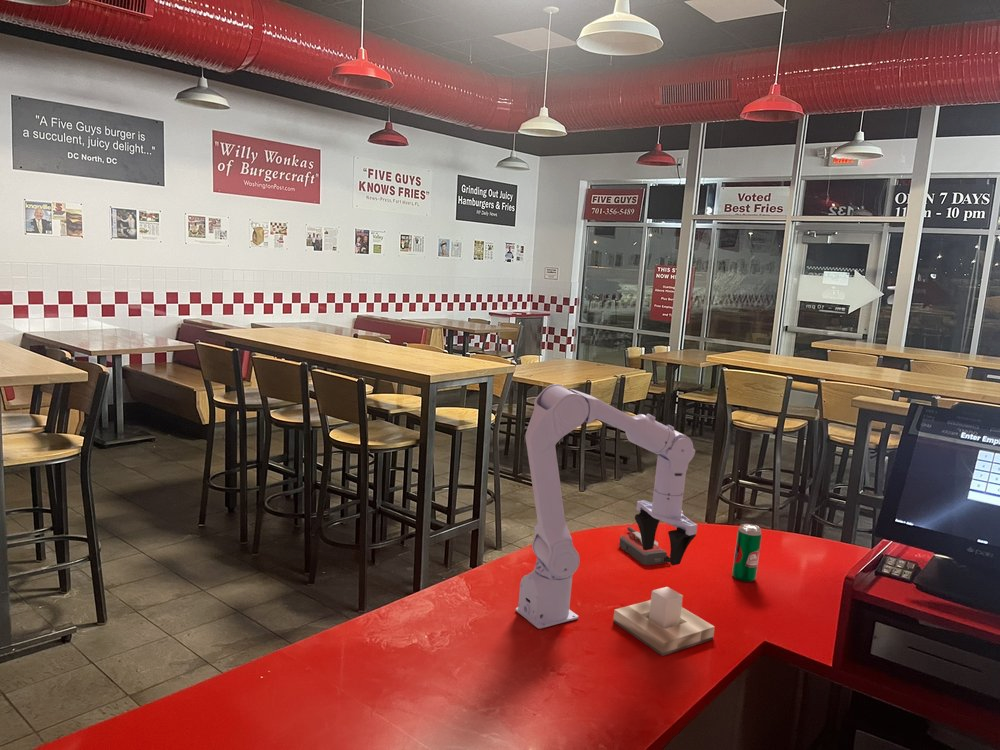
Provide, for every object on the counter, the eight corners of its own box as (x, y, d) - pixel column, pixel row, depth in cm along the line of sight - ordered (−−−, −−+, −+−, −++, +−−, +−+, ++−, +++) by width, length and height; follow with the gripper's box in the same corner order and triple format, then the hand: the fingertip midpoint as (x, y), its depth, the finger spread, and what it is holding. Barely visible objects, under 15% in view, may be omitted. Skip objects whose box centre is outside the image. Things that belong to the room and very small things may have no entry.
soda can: (747, 585, 157) (754, 533, 155) (727, 576, 161) (734, 525, 159) (759, 579, 161) (767, 528, 159) (739, 571, 164) (746, 521, 162)
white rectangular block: (663, 635, 132) (667, 599, 131) (648, 625, 136) (651, 590, 134) (678, 630, 134) (682, 595, 133) (663, 620, 138) (667, 586, 137)
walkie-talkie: (678, 565, 166) (631, 532, 184) (680, 547, 165) (633, 516, 184) (646, 569, 163) (601, 535, 181) (648, 551, 162) (603, 518, 180)
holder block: (662, 655, 126) (663, 642, 126) (613, 621, 137) (614, 609, 137) (713, 639, 133) (714, 626, 133) (662, 607, 144) (664, 596, 144)
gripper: (711, 500, 137) (702, 567, 139) (657, 477, 149) (650, 539, 151) (685, 505, 133) (677, 573, 136) (631, 481, 145) (625, 545, 148)
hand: (661, 556), depth 143 cm, fingers open, 7 cm apart
